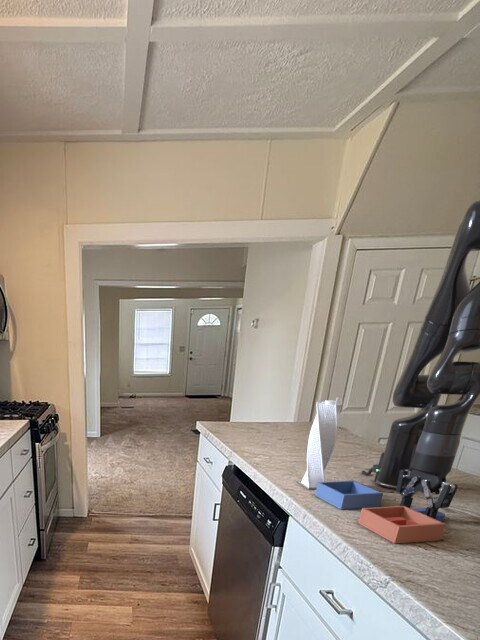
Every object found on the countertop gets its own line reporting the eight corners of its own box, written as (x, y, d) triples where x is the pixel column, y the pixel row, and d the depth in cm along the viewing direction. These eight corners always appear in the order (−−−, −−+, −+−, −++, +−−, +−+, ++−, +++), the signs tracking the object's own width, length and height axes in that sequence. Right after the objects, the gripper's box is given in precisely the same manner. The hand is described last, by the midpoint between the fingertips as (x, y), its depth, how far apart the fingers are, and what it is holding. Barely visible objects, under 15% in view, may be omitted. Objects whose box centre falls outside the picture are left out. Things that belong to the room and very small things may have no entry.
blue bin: (315, 495, 119) (317, 482, 118) (350, 493, 121) (353, 480, 119) (340, 509, 109) (344, 495, 107) (379, 507, 110) (383, 493, 108)
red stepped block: (384, 533, 93) (388, 522, 92) (373, 527, 96) (376, 516, 95) (419, 531, 94) (423, 520, 93) (407, 525, 97) (410, 514, 96)
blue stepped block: (414, 523, 100) (417, 512, 99) (402, 517, 103) (405, 507, 102) (447, 521, 101) (450, 510, 100) (434, 515, 104) (437, 505, 103)
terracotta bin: (358, 523, 100) (361, 508, 99) (399, 520, 101) (404, 505, 100) (394, 543, 90) (399, 526, 88) (440, 540, 91) (446, 523, 89)
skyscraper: (333, 490, 123) (354, 396, 112) (307, 490, 123) (325, 396, 113) (319, 482, 131) (338, 393, 120) (294, 482, 131) (311, 393, 120)
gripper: (480, 458, 89) (455, 526, 95) (423, 443, 102) (405, 505, 108) (449, 459, 88) (426, 528, 94) (396, 445, 101) (379, 506, 107)
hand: (415, 515), depth 101 cm, fingers open, 6 cm apart
